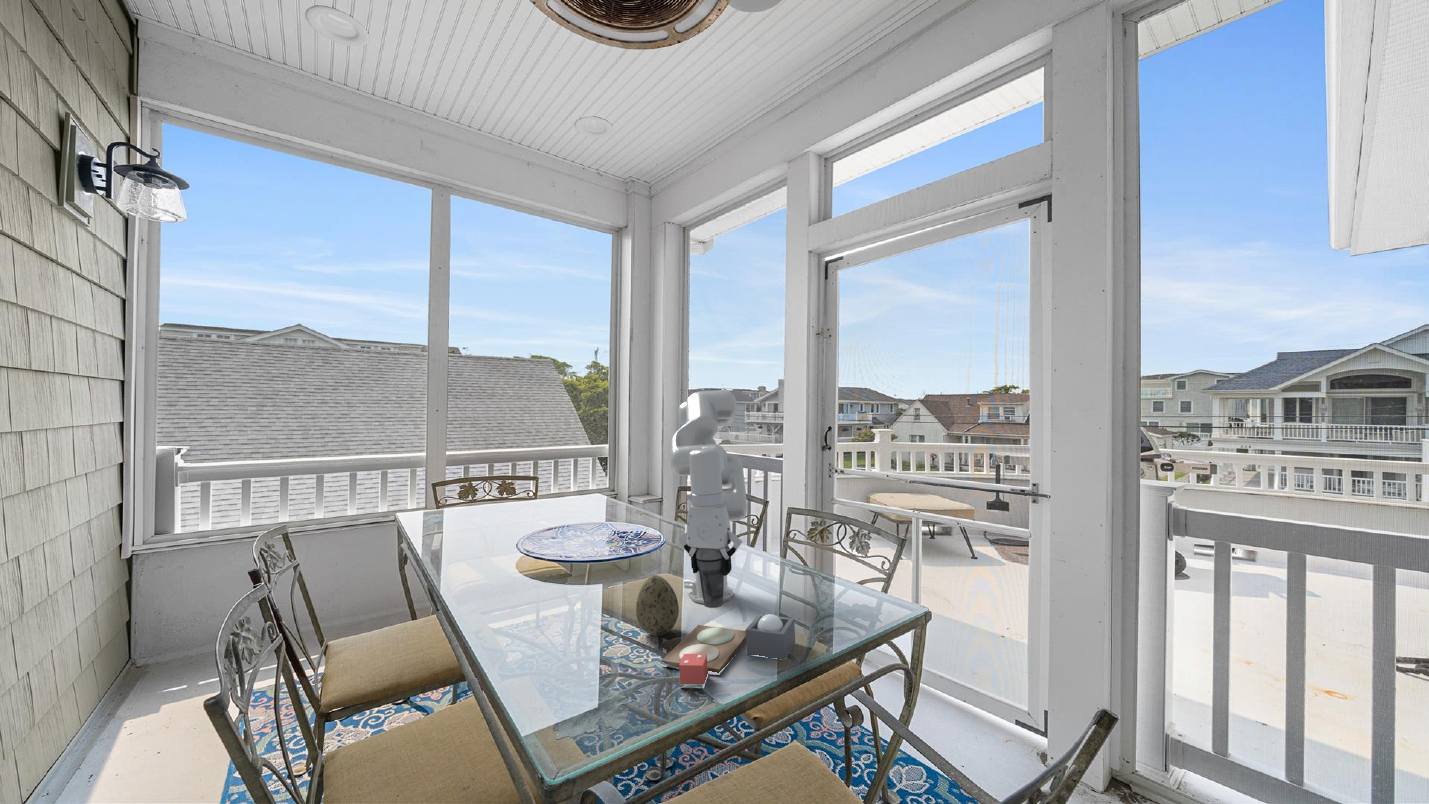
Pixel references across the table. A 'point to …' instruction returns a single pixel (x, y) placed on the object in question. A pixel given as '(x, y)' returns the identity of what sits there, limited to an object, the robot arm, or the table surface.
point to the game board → (709, 646)
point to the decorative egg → (657, 606)
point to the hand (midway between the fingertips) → (711, 572)
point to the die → (693, 669)
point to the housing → (770, 639)
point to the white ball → (770, 623)
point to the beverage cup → (711, 576)
